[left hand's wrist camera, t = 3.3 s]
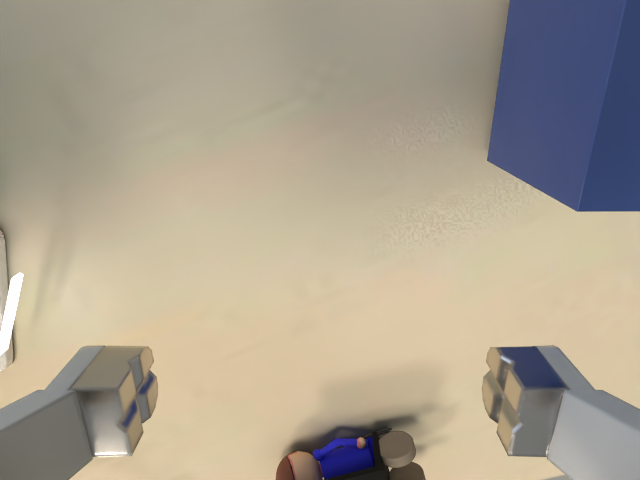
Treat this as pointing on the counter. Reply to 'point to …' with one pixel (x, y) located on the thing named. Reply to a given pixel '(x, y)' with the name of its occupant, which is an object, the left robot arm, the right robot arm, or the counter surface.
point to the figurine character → (356, 459)
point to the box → (571, 101)
